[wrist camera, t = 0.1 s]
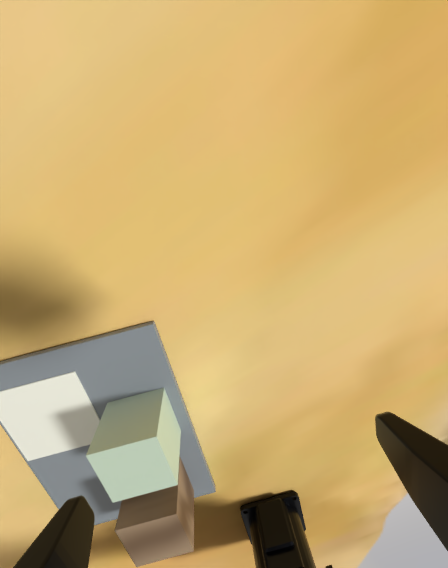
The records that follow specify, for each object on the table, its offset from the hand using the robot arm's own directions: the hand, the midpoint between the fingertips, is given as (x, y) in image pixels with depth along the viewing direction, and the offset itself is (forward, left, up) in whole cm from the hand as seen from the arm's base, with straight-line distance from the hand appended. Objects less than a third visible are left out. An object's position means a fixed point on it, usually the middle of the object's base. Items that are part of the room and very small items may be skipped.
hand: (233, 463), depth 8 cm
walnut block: (-18, +9, -14) cm, 24 cm away
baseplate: (-11, +12, -15) cm, 22 cm away
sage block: (-10, +8, -14) cm, 19 cm away
